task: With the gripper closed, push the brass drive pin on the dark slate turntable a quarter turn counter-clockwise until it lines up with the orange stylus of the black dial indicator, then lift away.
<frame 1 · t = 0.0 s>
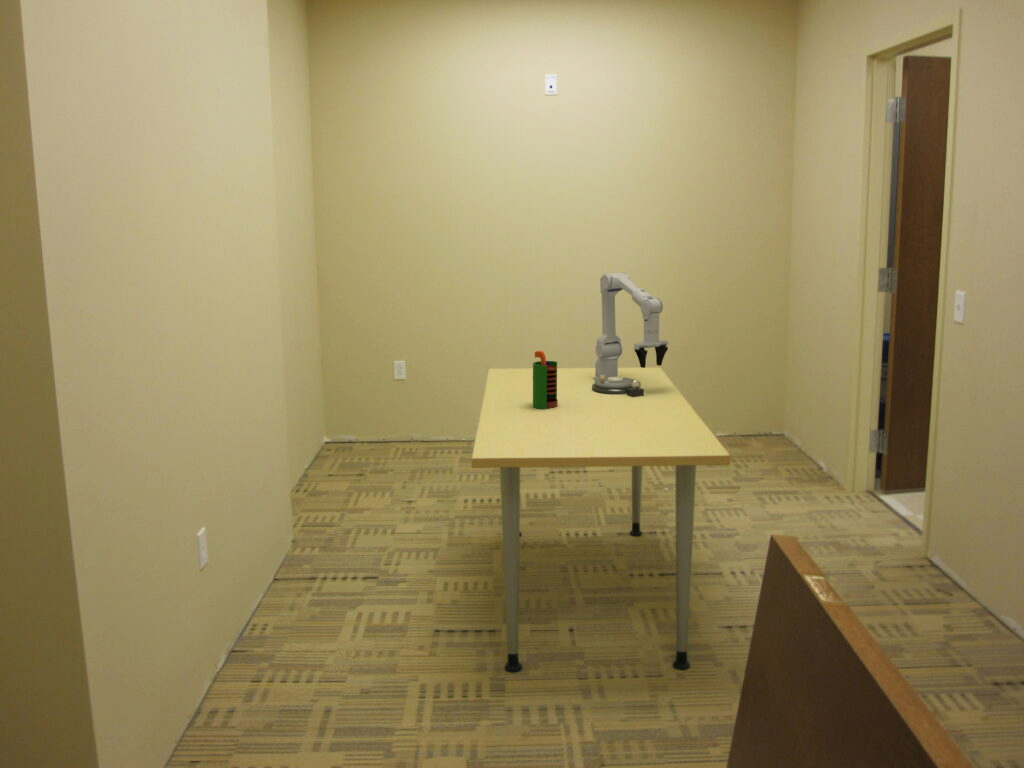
hand: (650, 366, 341), 10 cm above the table, tool pointing down, fingers open, 7 cm apart
motor: (545, 406, 324), on the table
turntable: (615, 379, 348), point 4 cm above the table, hinge at 0.0°
plinth: (615, 389, 349), on the table
dial indicator: (635, 395, 338), on the table
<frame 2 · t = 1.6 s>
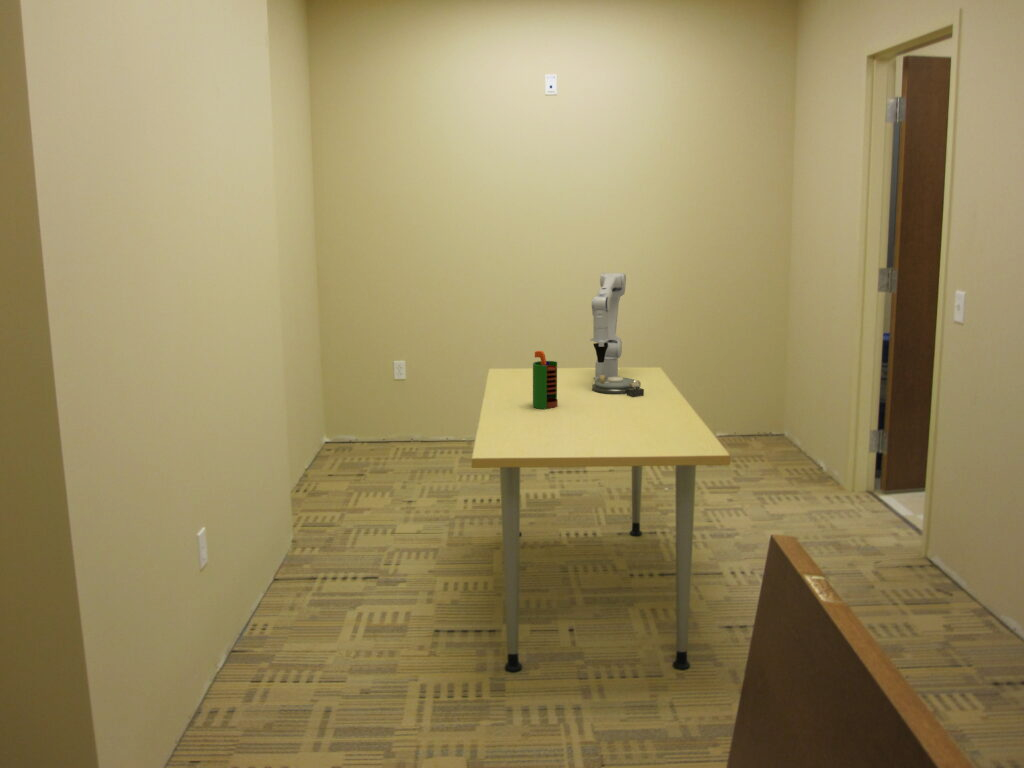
hand: (600, 362, 350), 10 cm above the table, tool pointing down, fingers closed
nothing on the table moved.
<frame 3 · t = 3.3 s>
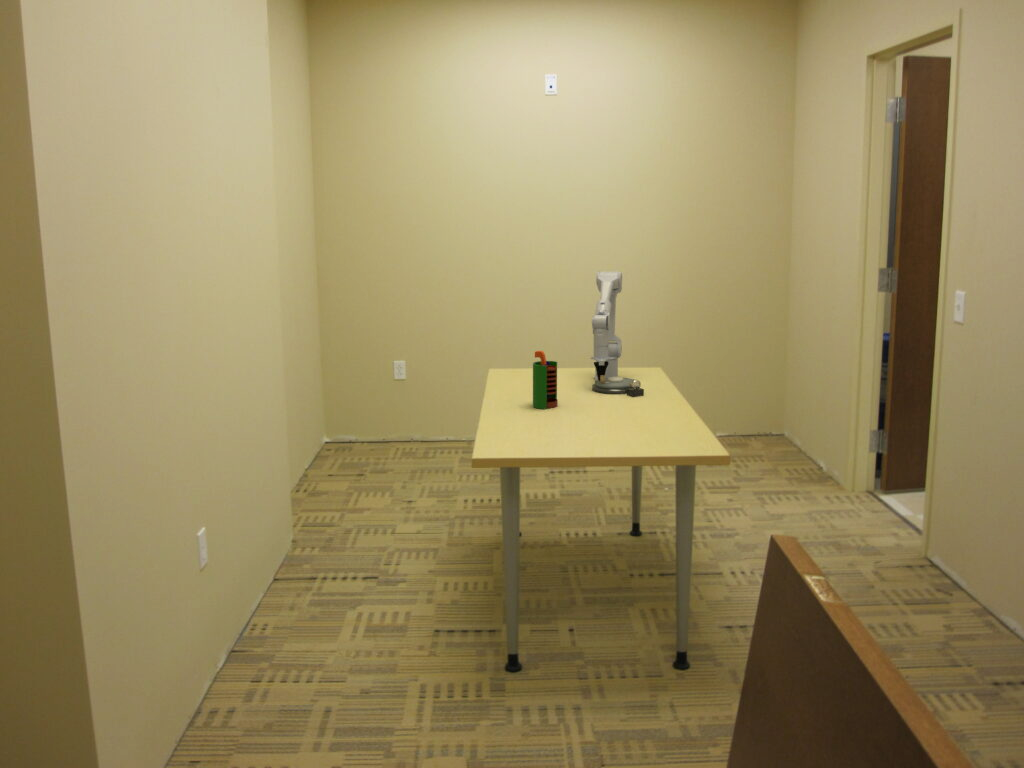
hand: (601, 380, 347), 4 cm above the table, tool pointing down, fingers closed, pressing on turntable
turntable: (615, 379, 348), point 4 cm above the table, hinge at 0.1°, touching gripper
everything else where it was.
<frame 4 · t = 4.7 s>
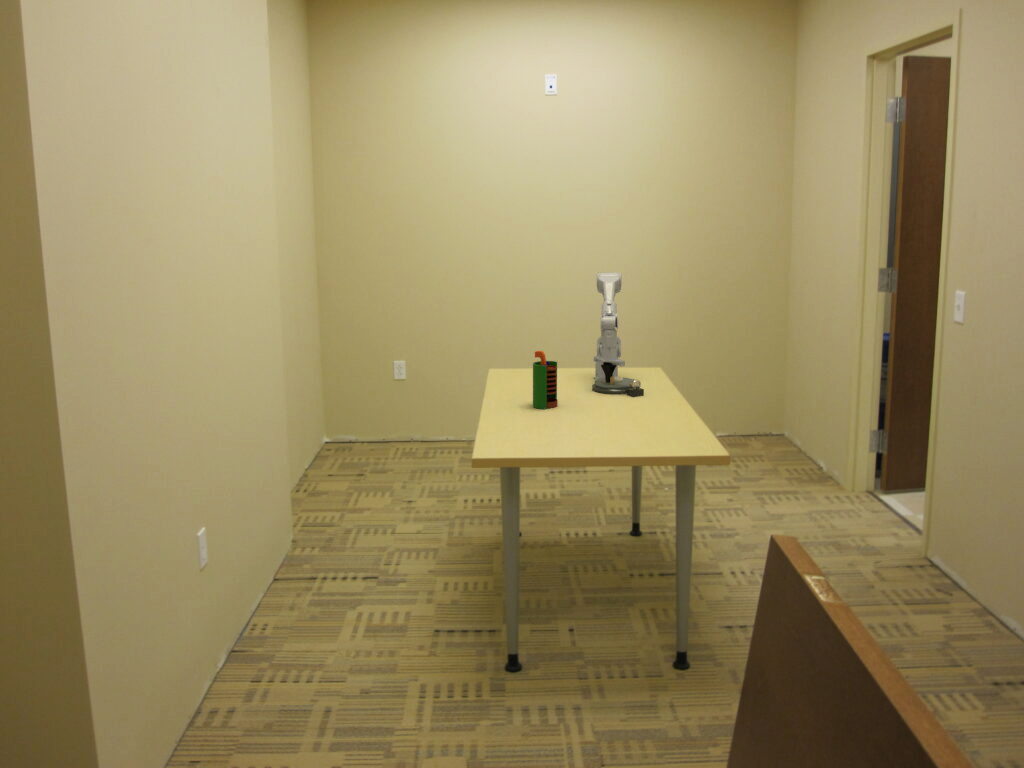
hand: (608, 382, 344), 4 cm above the table, tool pointing down, fingers closed, pressing on turntable
turntable: (615, 379, 348), point 4 cm above the table, hinge at 43.3°, touching gripper
everything else where it was.
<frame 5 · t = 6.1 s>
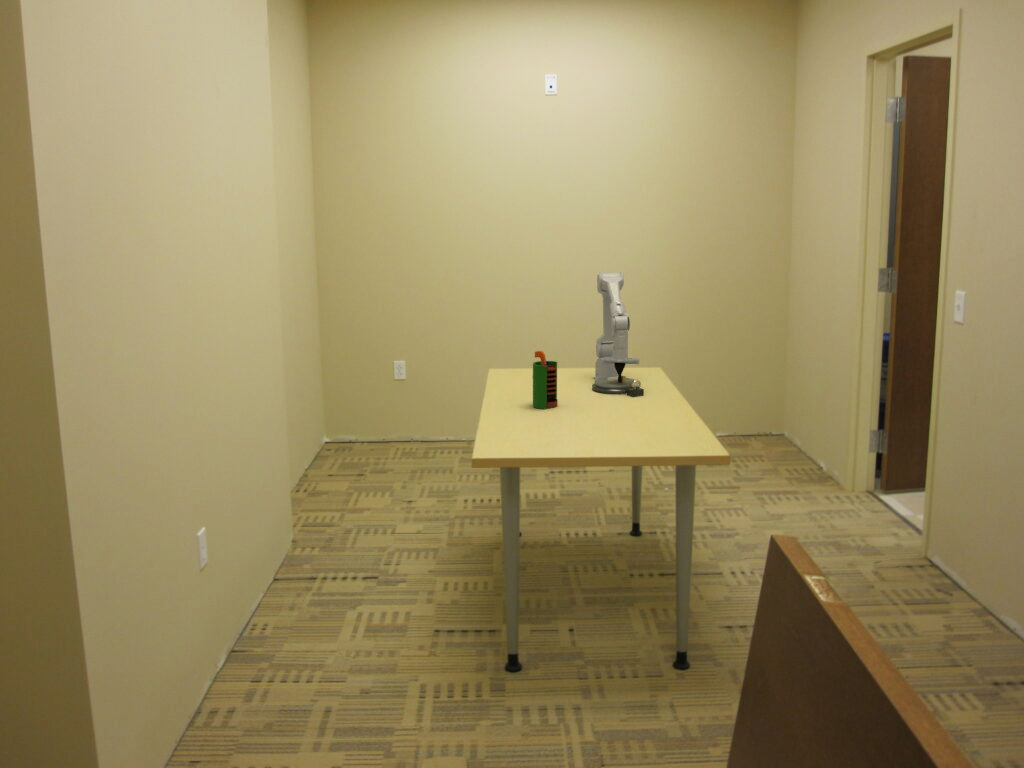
hand: (619, 382, 343), 4 cm above the table, tool pointing down, fingers closed, pressing on turntable
turntable: (615, 379, 348), point 4 cm above the table, hinge at 86.0°, touching gripper
everything else where it was.
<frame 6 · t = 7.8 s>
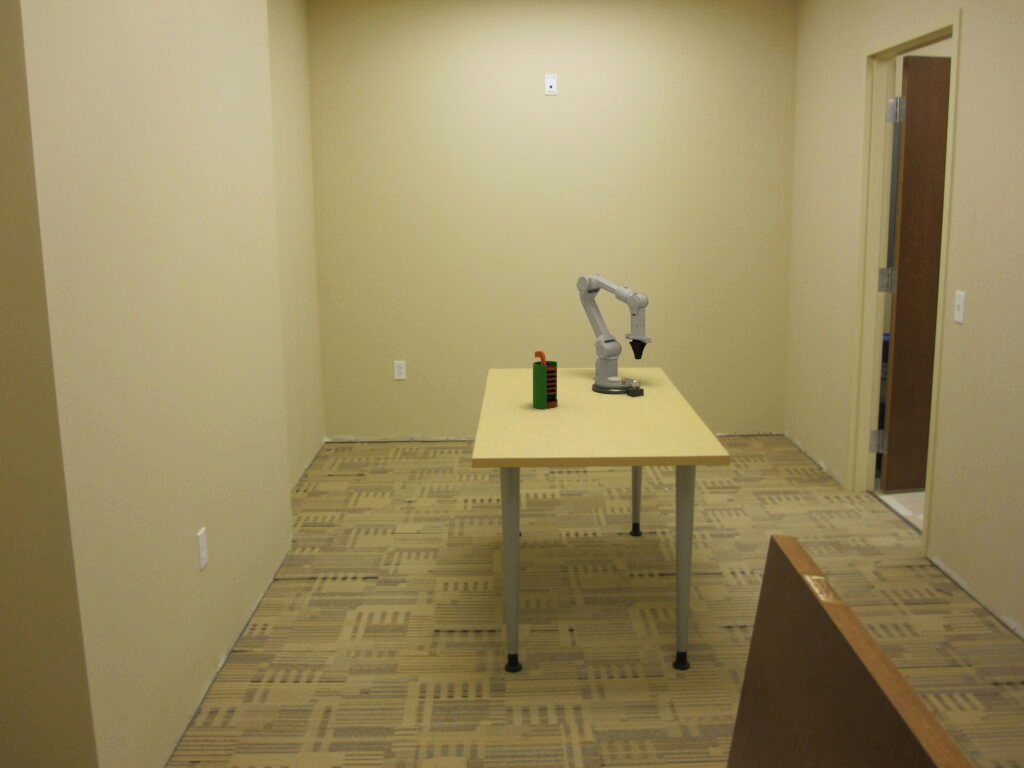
hand: (638, 359, 354), 10 cm above the table, tool pointing down, fingers closed
turntable: (615, 379, 348), point 4 cm above the table, hinge at 86.1°
everything else where it was.
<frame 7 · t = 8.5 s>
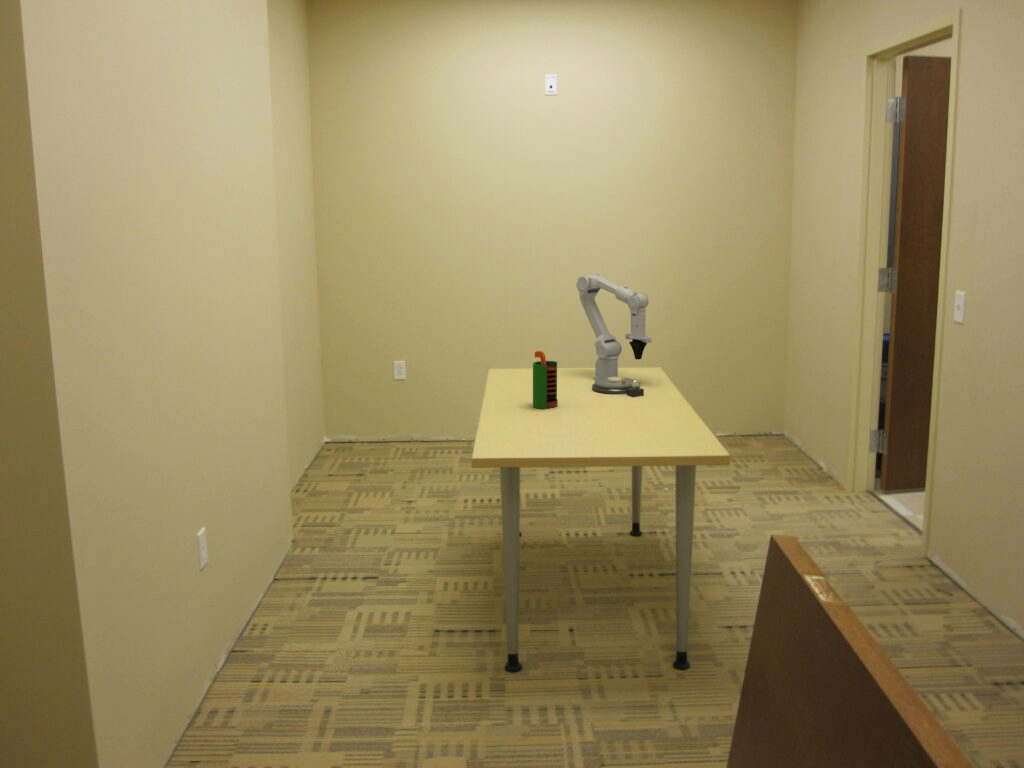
hand: (638, 359, 354), 10 cm above the table, tool pointing down, fingers closed
nothing on the table moved.
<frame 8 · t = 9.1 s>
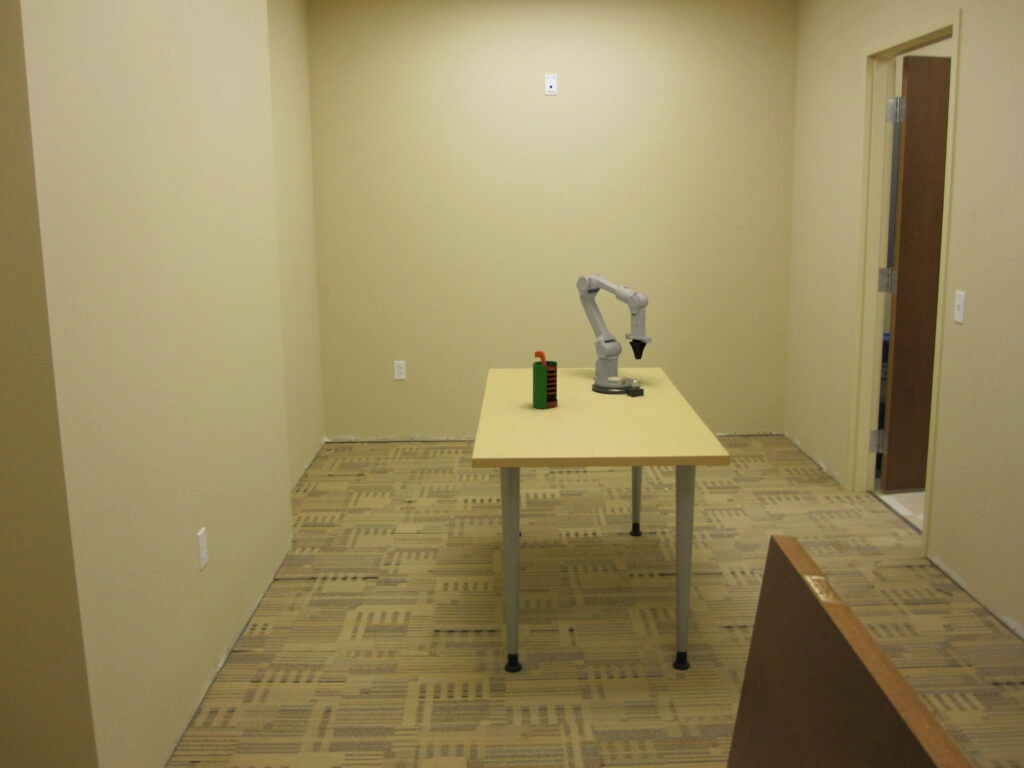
hand: (638, 359, 354), 10 cm above the table, tool pointing down, fingers closed
nothing on the table moved.
at the end: turntable at +86° (first picture: +0°) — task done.
